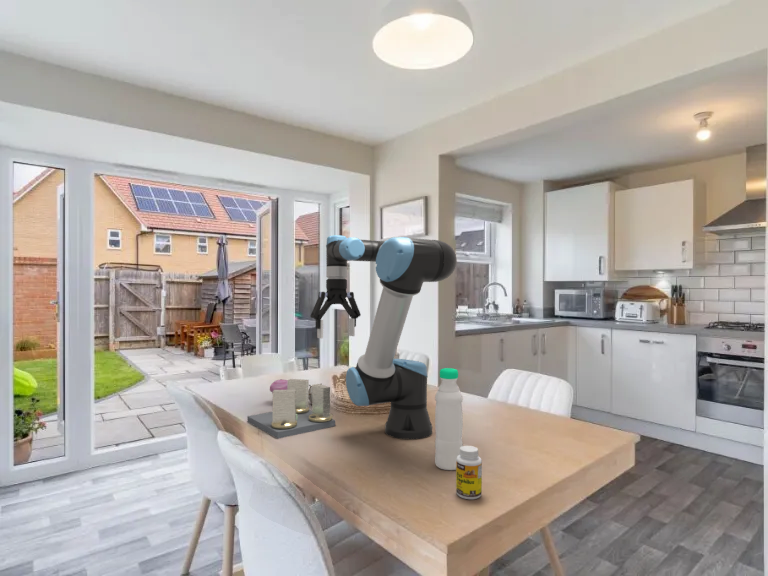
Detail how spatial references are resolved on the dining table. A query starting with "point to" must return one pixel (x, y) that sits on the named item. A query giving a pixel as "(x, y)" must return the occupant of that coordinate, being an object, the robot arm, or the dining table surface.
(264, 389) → the dining table surface
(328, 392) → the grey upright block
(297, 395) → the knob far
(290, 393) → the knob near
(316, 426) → the board
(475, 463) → the supplement bottle
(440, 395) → the water bottle
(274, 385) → the cupcake
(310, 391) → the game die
